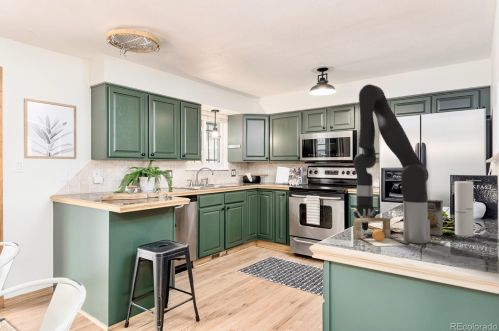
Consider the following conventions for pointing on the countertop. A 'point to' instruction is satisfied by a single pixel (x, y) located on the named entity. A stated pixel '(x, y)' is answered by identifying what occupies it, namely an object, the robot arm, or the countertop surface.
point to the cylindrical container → (464, 208)
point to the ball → (378, 235)
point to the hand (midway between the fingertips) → (364, 230)
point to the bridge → (358, 221)
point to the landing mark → (384, 242)
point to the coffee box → (435, 216)
